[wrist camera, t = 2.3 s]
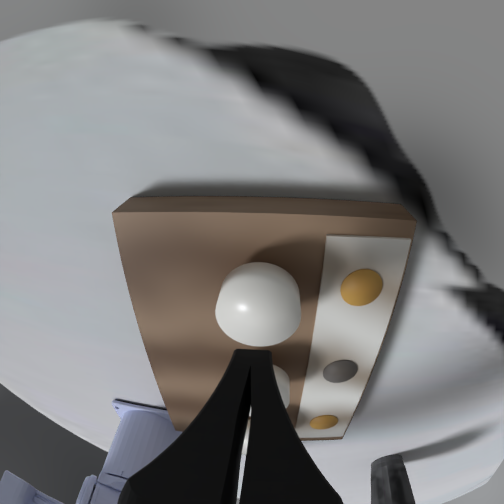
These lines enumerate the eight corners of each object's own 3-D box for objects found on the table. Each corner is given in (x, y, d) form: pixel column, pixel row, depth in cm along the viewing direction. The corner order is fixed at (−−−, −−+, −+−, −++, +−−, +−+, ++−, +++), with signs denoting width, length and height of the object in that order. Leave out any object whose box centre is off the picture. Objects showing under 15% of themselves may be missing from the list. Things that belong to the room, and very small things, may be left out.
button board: (339, 418, 27) (342, 441, 25) (180, 410, 28) (174, 433, 26) (400, 204, 17) (419, 223, 14) (130, 197, 18) (109, 214, 15)
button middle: (287, 399, 20) (286, 417, 18) (229, 396, 20) (226, 414, 19) (292, 363, 18) (292, 383, 17) (226, 360, 18) (222, 379, 17)
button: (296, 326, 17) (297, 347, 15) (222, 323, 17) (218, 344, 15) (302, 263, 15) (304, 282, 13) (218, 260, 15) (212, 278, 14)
